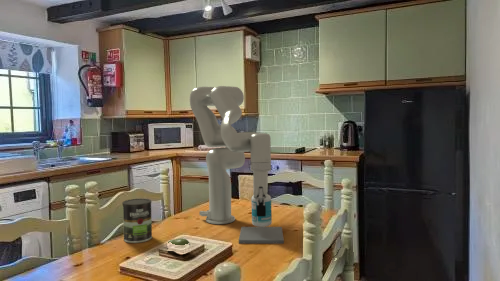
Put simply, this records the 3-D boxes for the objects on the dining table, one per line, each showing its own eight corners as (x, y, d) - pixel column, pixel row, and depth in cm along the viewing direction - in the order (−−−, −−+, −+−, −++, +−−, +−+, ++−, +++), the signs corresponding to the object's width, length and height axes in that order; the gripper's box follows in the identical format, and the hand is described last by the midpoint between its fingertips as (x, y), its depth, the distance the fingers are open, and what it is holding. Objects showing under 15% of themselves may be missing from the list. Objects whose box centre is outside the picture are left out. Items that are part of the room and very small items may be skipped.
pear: (178, 241, 118) (161, 240, 125) (181, 258, 118) (163, 255, 124) (192, 237, 122) (174, 235, 129) (194, 253, 122) (176, 251, 129)
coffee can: (155, 240, 136) (154, 202, 135) (126, 245, 131) (124, 205, 130) (149, 232, 145) (148, 197, 144) (121, 236, 140) (120, 200, 139)
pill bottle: (274, 223, 141) (274, 187, 140) (267, 228, 134) (266, 191, 133) (256, 220, 144) (256, 186, 143) (248, 226, 137) (248, 190, 136)
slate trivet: (238, 243, 132) (238, 240, 132) (241, 229, 148) (241, 226, 148) (283, 243, 131) (283, 240, 131) (281, 229, 147) (281, 226, 147)
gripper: (251, 163, 146) (252, 207, 147) (249, 169, 129) (250, 219, 130) (270, 163, 146) (271, 207, 147) (271, 169, 129) (271, 219, 130)
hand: (261, 213), depth 139 cm, fingers closed on pill bottle, 7 cm apart
